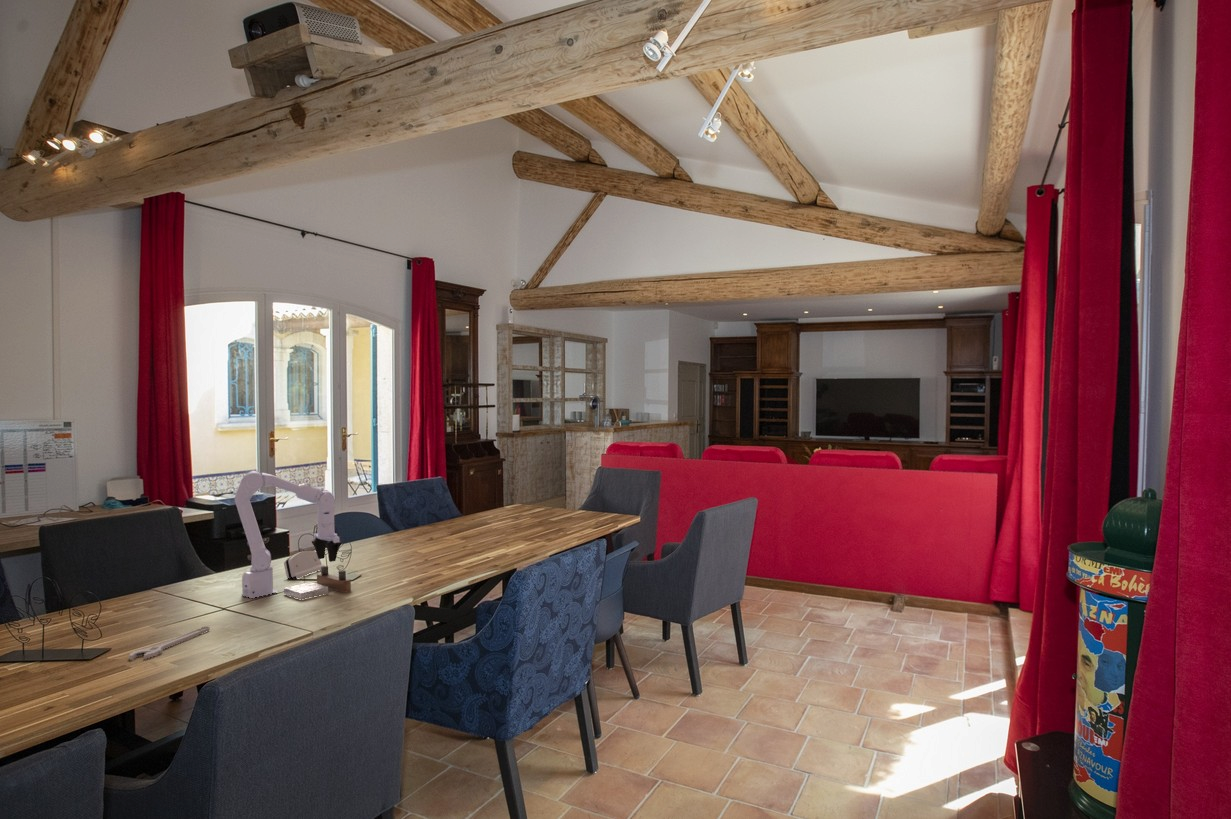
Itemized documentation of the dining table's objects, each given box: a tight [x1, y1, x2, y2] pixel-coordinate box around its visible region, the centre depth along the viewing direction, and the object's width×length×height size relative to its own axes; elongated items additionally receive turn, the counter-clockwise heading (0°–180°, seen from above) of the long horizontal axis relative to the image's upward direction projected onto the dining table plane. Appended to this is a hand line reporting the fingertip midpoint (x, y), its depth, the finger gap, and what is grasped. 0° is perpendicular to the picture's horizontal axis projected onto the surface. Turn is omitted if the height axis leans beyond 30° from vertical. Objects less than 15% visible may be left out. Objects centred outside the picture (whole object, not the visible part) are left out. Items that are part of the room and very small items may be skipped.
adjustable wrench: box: [129, 626, 211, 661], centre depth 201 cm, size 25×6×2 cm, turn 163°
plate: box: [283, 581, 329, 601], centre depth 251 cm, size 10×12×3 cm
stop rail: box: [316, 565, 352, 593], centre depth 259 cm, size 3×18×7 cm, turn 52°
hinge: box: [283, 550, 325, 579], centre depth 281 cm, size 17×5×10 cm, turn 164°
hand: (326, 559), depth 262 cm, fingers open, 7 cm apart
